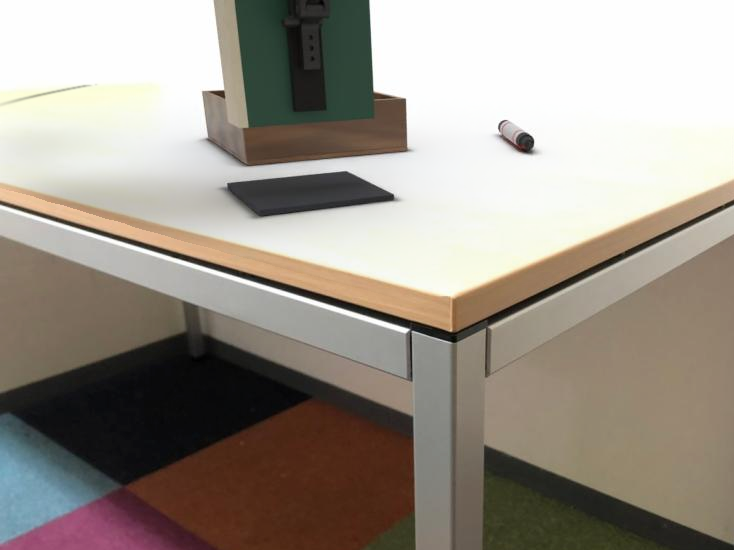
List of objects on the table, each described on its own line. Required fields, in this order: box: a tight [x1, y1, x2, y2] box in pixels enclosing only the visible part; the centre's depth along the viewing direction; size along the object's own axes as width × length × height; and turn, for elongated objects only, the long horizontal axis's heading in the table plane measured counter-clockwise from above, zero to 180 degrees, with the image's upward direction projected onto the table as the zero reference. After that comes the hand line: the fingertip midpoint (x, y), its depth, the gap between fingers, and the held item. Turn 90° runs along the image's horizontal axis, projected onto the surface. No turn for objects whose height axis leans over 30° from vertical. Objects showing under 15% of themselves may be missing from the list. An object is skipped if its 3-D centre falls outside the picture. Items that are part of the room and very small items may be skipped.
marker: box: [497, 119, 535, 152], centre depth 93 cm, size 15×2×2 cm, turn 8°
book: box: [213, 0, 375, 128], centre depth 63 cm, size 4×12×11 cm, turn 118°
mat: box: [226, 170, 395, 217], centre depth 68 cm, size 12×12×1 cm
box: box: [201, 89, 408, 166], centre depth 92 cm, size 21×19×6 cm
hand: (301, 107), depth 65 cm, fingers closed on book, 4 cm apart
